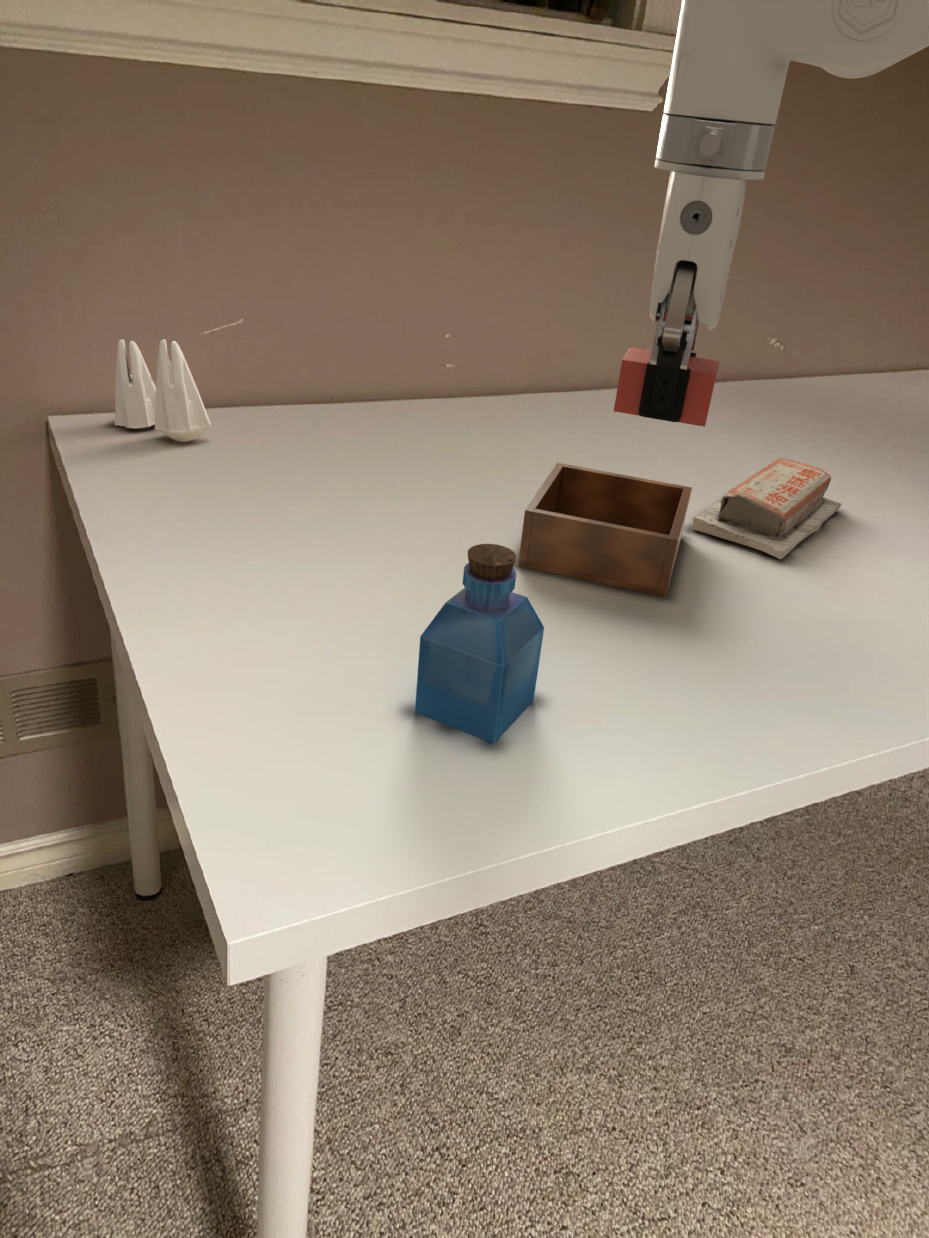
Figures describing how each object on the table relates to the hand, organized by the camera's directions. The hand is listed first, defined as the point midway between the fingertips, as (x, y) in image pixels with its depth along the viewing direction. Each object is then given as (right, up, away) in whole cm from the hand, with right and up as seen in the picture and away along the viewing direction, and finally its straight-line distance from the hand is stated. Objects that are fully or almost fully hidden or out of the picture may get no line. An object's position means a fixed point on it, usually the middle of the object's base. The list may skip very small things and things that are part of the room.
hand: (662, 406), depth 74 cm
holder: (-2, -10, +17) cm, 20 cm away
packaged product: (+17, -6, +27) cm, 33 cm away
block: (0, 0, 0) cm, 0 cm away
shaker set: (-50, +5, +35) cm, 62 cm away
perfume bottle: (-15, -23, -7) cm, 28 cm away
